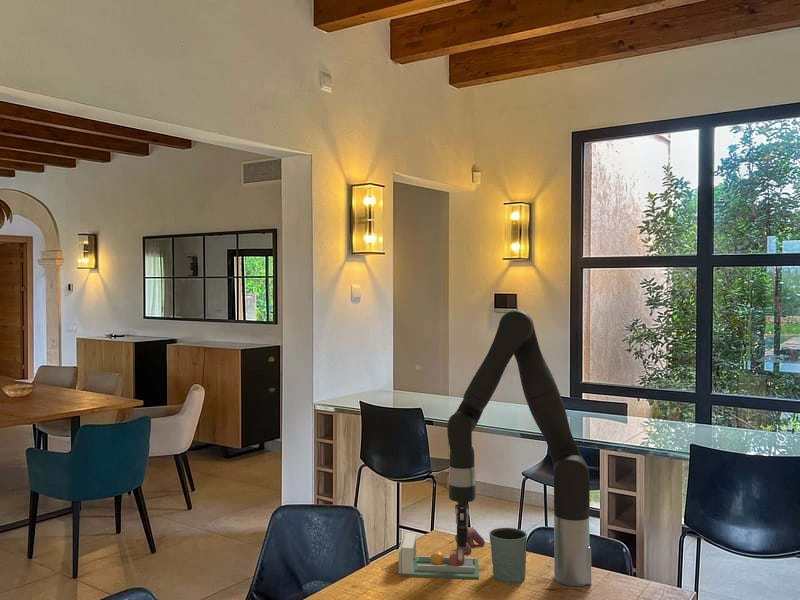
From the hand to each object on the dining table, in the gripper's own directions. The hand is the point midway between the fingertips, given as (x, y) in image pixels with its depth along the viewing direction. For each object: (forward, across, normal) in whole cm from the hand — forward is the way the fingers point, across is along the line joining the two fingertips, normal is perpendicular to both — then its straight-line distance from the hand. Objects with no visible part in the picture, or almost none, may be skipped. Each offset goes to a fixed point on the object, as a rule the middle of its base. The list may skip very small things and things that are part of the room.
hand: (462, 542), depth 185 cm
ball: (+5, 0, +7) cm, 8 cm away
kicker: (+7, 0, 0) cm, 7 cm away
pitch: (+7, 0, +6) cm, 10 cm away
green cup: (+8, -4, -12) cm, 15 cm away
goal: (+7, 0, +15) cm, 17 cm away
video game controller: (+8, +17, -2) cm, 19 cm away
